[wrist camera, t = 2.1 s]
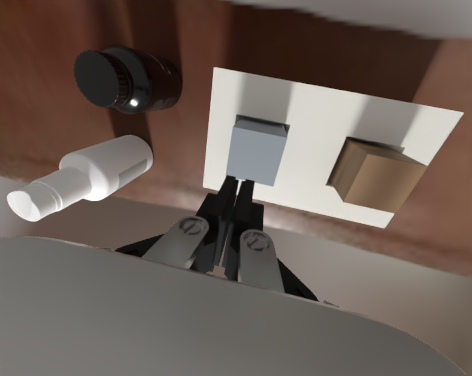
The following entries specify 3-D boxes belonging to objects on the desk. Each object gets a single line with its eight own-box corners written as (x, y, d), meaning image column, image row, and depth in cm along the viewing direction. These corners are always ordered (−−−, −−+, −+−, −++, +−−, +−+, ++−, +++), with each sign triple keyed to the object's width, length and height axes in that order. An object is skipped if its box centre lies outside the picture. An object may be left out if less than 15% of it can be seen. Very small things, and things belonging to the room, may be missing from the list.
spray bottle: (118, 163, 36) (0, 221, 21) (118, 128, 33) (-21, 165, 17) (152, 176, 36) (60, 243, 21) (156, 142, 33) (50, 191, 17)
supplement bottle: (180, 56, 27) (121, 36, 16) (184, 109, 30) (137, 121, 19) (135, 55, 28) (51, 35, 17) (143, 107, 31) (77, 117, 20)
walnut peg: (387, 146, 22) (428, 166, 16) (366, 184, 24) (395, 213, 19) (343, 137, 22) (367, 154, 17) (326, 176, 25) (343, 202, 19)
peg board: (410, 105, 25) (463, 112, 18) (359, 197, 32) (384, 228, 25) (229, 72, 27) (213, 67, 20) (217, 166, 33) (202, 186, 26)
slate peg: (283, 125, 23) (287, 137, 17) (273, 164, 25) (273, 186, 20) (242, 117, 23) (232, 126, 18) (235, 156, 26) (225, 176, 20)
